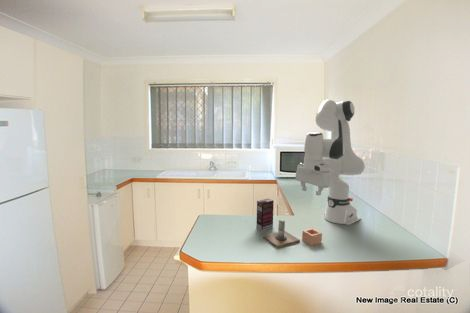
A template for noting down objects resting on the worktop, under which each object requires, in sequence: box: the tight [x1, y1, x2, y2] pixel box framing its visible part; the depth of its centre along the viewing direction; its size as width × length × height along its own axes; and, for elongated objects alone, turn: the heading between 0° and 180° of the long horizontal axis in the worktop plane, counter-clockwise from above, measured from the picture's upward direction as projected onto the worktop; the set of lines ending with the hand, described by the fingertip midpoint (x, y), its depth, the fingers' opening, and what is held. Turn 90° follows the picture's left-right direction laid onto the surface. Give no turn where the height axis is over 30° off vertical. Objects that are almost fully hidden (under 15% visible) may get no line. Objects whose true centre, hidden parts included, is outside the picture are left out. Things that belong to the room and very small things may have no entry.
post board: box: [262, 219, 301, 249], centre depth 135 cm, size 14×12×10 cm
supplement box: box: [256, 198, 274, 232], centre depth 149 cm, size 9×5×16 cm, turn 126°
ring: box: [301, 227, 323, 246], centre depth 135 cm, size 7×7×5 cm
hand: (311, 192), depth 134 cm, fingers open, 8 cm apart
